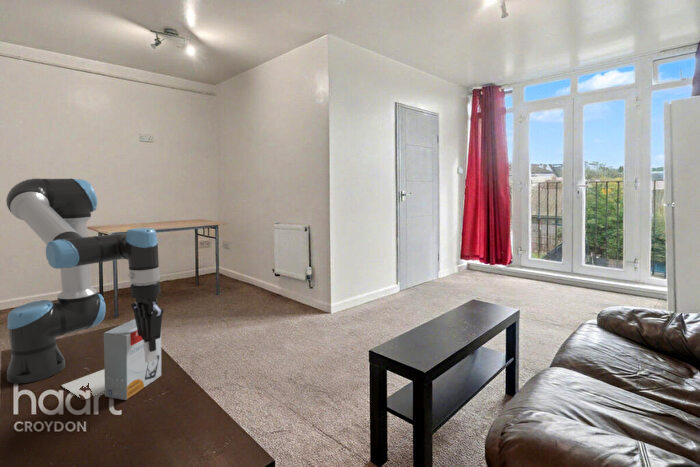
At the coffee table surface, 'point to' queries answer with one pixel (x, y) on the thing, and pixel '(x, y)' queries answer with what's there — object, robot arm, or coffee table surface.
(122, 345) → the hard drive box
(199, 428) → the coffee table surface
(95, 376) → the mat
